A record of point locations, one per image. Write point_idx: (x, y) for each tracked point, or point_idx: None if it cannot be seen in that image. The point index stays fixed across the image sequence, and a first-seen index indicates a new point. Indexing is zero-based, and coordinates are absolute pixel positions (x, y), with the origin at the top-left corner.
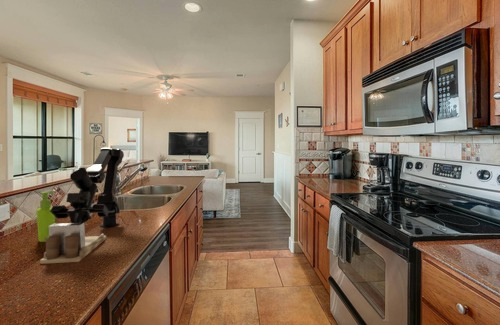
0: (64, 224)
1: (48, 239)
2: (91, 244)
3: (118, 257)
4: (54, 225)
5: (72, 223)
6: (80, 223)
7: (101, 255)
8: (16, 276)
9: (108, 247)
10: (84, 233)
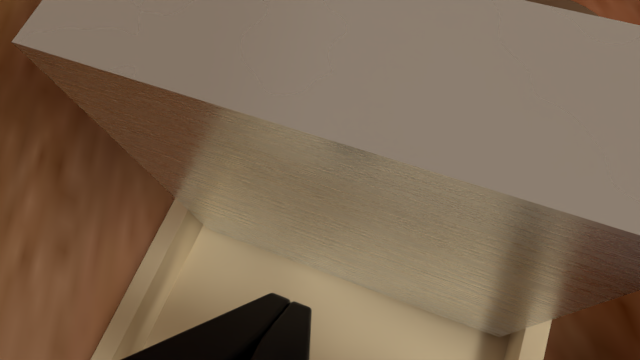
0: (398, 61)
1: (557, 2)
2: (137, 285)
3: (20, 53)
4: (618, 61)
5: (233, 68)
6: (85, 4)
7: (110, 139)
8: (634, 17)
9: (20, 313)
10: (131, 147)
